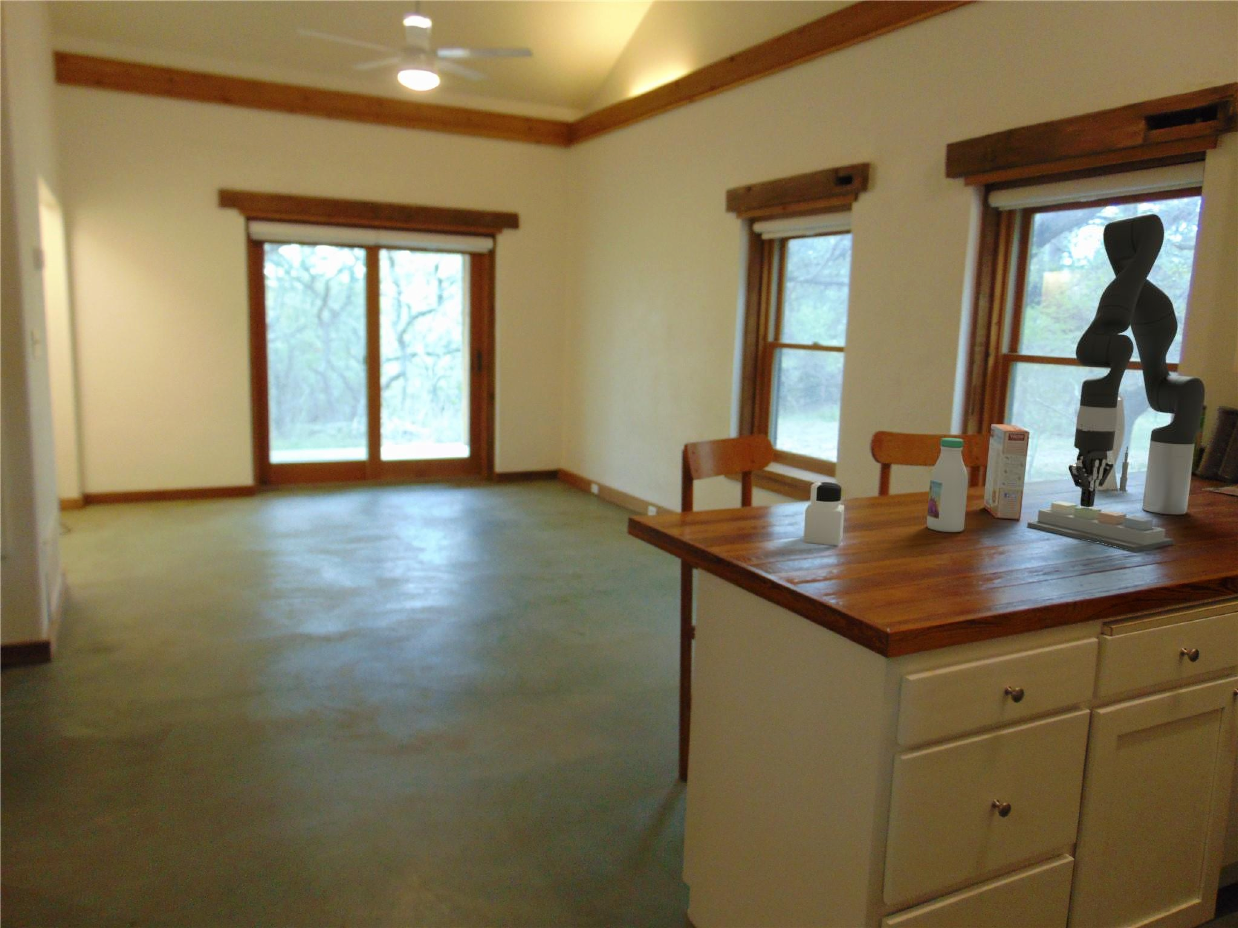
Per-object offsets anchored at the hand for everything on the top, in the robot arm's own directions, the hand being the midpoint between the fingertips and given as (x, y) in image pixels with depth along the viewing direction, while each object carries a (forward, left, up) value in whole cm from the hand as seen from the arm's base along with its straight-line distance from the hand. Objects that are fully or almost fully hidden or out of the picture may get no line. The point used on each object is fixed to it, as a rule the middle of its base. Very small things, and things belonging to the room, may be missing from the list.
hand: (1086, 506), depth 192 cm
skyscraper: (-56, -30, -6) cm, 64 cm away
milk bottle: (+26, -16, -6) cm, 31 cm away
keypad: (0, +3, -6) cm, 6 cm away
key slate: (0, +11, -3) cm, 12 cm away
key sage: (0, 0, -3) cm, 3 cm away
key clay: (0, +6, -3) cm, 7 cm away
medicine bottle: (+58, -20, -6) cm, 61 cm away
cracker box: (0, -21, -6) cm, 22 cm away
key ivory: (0, -5, -3) cm, 6 cm away
